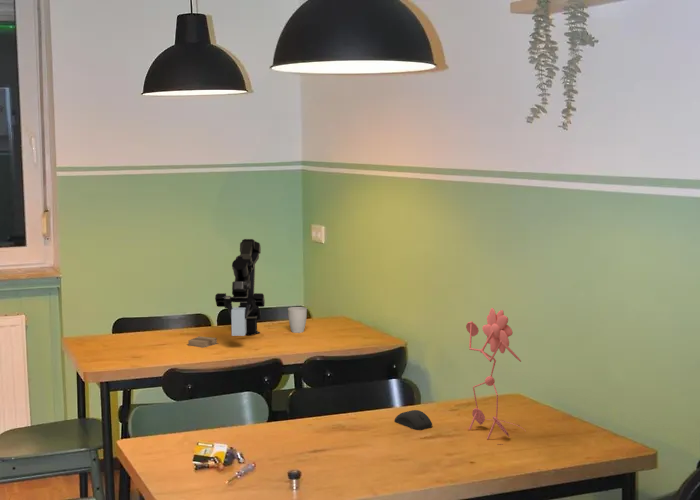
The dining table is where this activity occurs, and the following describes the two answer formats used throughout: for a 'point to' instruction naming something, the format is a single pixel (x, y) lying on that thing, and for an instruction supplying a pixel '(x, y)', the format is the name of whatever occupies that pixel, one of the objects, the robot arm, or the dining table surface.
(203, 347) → the lower slab
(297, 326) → the cup
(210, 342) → the upper slab
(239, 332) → the grey upright block
